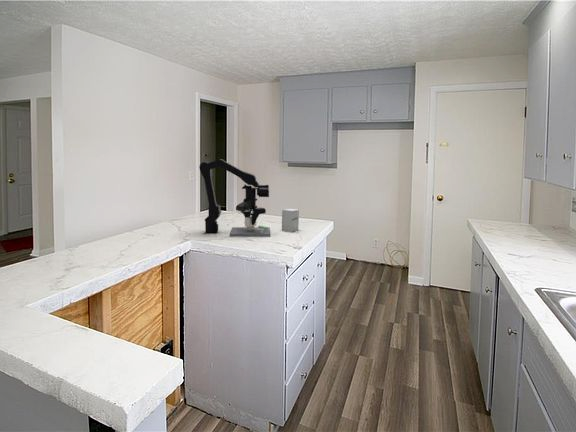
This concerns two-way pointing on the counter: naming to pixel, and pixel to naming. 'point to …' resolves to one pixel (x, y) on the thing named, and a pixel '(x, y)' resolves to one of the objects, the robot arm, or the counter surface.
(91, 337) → the counter surface
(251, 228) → the tuning peg
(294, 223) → the supplement box
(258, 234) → the dial plate
